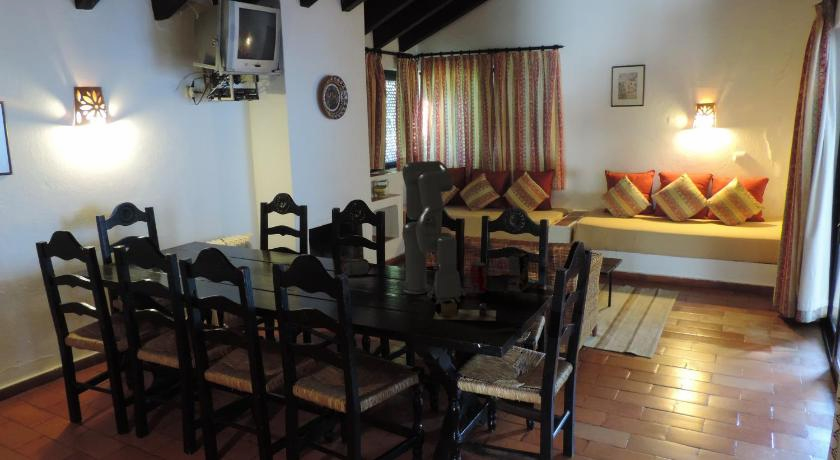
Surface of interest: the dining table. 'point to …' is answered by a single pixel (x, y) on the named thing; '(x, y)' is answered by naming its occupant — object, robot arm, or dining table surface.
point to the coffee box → (518, 272)
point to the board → (468, 315)
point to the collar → (448, 308)
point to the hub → (482, 310)
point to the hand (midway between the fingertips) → (447, 311)
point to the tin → (355, 267)
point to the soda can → (478, 278)
